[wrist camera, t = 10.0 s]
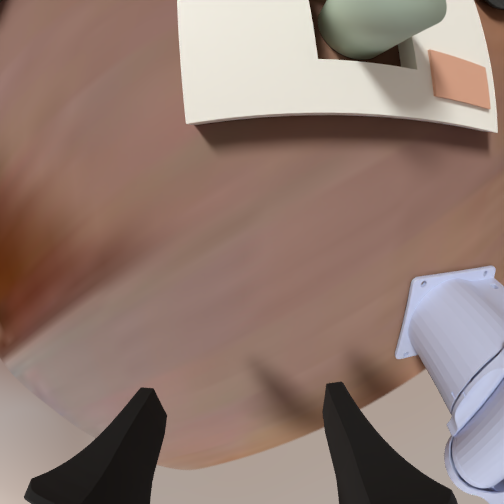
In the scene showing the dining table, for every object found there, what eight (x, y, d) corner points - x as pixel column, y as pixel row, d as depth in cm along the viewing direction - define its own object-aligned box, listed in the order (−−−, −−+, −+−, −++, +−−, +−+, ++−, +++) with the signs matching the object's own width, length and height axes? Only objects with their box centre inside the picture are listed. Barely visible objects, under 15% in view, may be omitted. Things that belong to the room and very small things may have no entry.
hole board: (455, -8, 10) (470, -16, 7) (480, 130, 14) (500, 133, 12) (183, -33, 11) (175, -50, 8) (194, 125, 15) (184, 123, 13)
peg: (380, 7, 12) (433, -37, 5) (390, 64, 13) (455, 38, 7) (313, -4, 12) (343, -63, 5) (321, 56, 13) (361, 11, 7)
